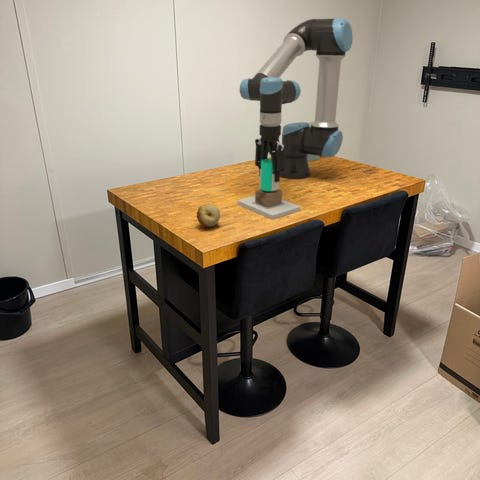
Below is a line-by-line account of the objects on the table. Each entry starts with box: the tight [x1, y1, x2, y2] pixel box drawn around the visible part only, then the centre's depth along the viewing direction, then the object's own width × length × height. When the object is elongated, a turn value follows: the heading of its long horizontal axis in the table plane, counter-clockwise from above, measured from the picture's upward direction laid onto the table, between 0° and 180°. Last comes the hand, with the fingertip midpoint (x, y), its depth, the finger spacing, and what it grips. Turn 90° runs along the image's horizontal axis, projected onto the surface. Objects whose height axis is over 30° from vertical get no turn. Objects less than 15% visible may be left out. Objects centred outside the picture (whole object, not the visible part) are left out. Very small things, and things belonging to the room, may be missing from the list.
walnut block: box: [254, 188, 283, 208], centre depth 172 cm, size 7×7×5 cm
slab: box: [236, 195, 302, 220], centre depth 174 cm, size 20×14×2 cm
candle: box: [260, 156, 274, 191], centre depth 169 cm, size 6×6×12 cm
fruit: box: [196, 203, 221, 228], centre depth 156 cm, size 8×8×8 cm
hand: (268, 187), depth 171 cm, fingers closed on candle, 6 cm apart
